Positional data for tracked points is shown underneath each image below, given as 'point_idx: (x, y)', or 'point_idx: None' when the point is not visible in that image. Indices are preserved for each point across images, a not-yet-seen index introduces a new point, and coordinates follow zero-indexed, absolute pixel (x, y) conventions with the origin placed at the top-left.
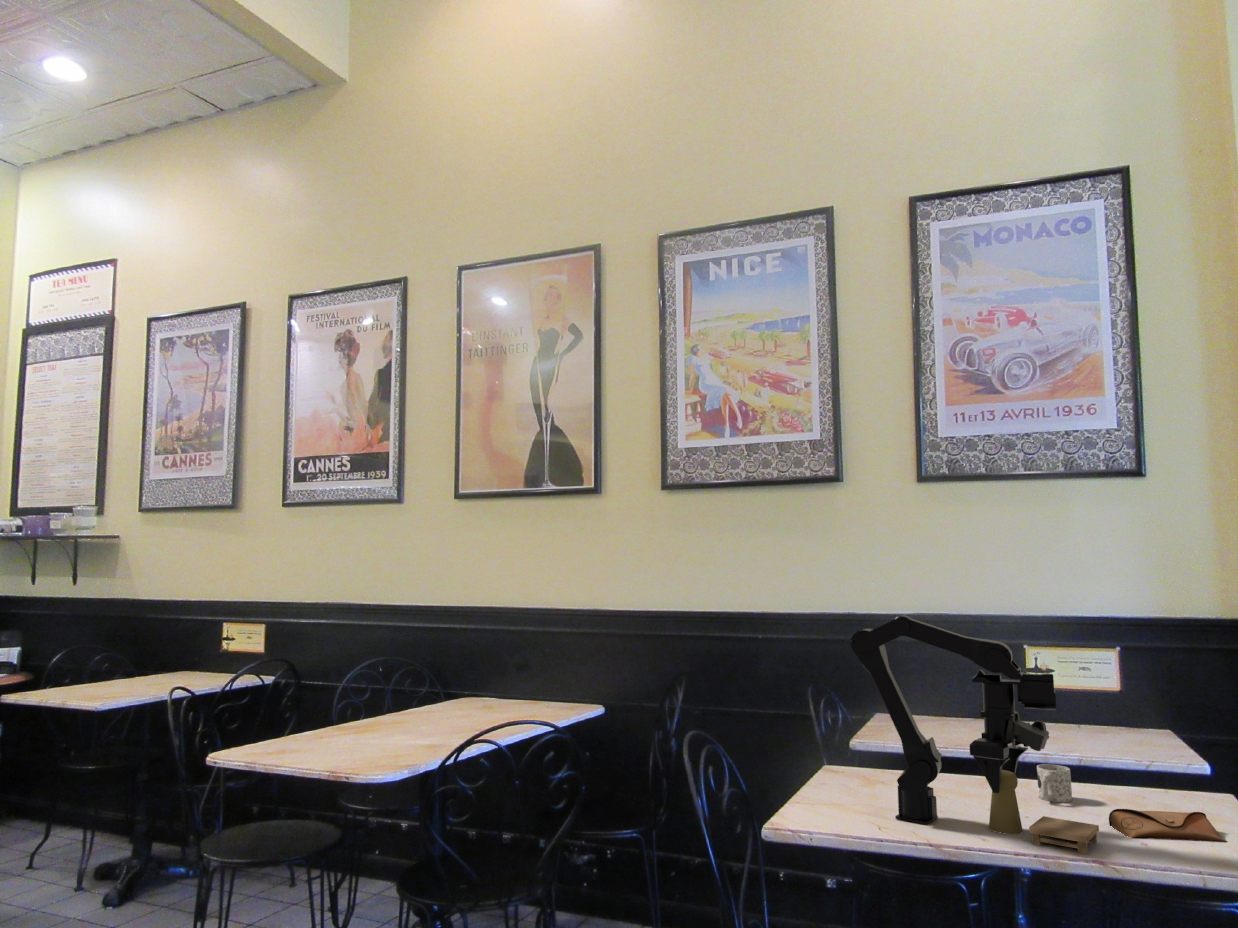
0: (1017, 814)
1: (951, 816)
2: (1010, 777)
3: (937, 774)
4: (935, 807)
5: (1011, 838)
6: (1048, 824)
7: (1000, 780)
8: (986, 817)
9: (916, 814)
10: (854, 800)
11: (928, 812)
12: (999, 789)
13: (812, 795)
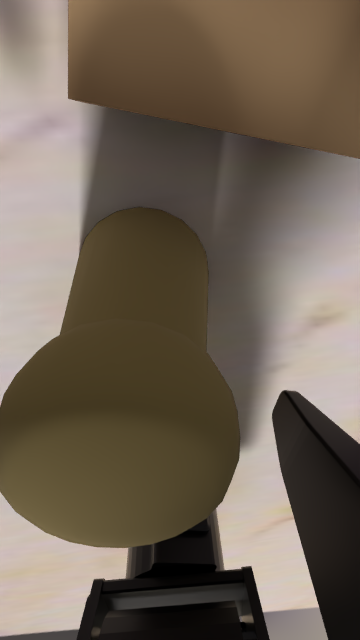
0: (165, 246)
1: None
2: (205, 412)
3: (227, 635)
4: None
5: (269, 237)
6: (275, 40)
7: (349, 453)
8: (13, 353)
9: None
10: (89, 583)
11: None
12: (300, 402)
13: None
